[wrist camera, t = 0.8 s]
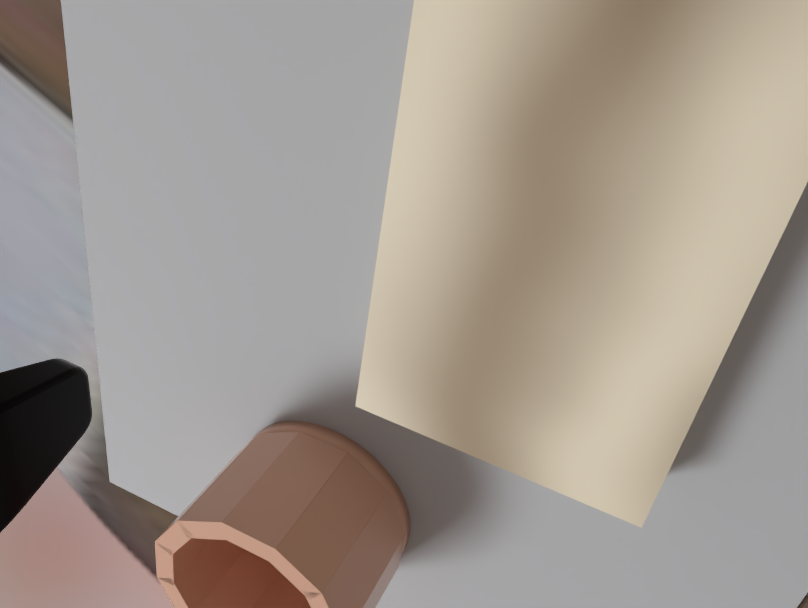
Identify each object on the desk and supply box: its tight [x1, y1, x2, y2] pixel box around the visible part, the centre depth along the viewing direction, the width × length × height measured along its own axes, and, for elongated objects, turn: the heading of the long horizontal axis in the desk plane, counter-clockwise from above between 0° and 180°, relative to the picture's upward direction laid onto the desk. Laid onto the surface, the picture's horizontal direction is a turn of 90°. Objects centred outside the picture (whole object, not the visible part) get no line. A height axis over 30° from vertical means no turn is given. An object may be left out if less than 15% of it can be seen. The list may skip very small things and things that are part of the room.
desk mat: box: [61, 0, 808, 608], centre depth 21 cm, size 22×23×1 cm
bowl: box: [155, 421, 411, 608], centre depth 23 cm, size 6×6×4 cm
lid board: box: [355, 0, 808, 528], centre depth 16 cm, size 7×12×2 cm, turn 171°
